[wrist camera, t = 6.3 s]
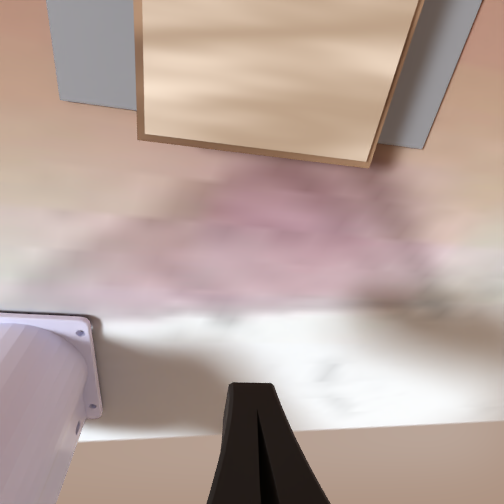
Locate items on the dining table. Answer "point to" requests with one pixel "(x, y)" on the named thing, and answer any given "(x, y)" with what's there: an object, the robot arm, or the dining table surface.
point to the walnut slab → (271, 74)
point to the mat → (124, 78)
